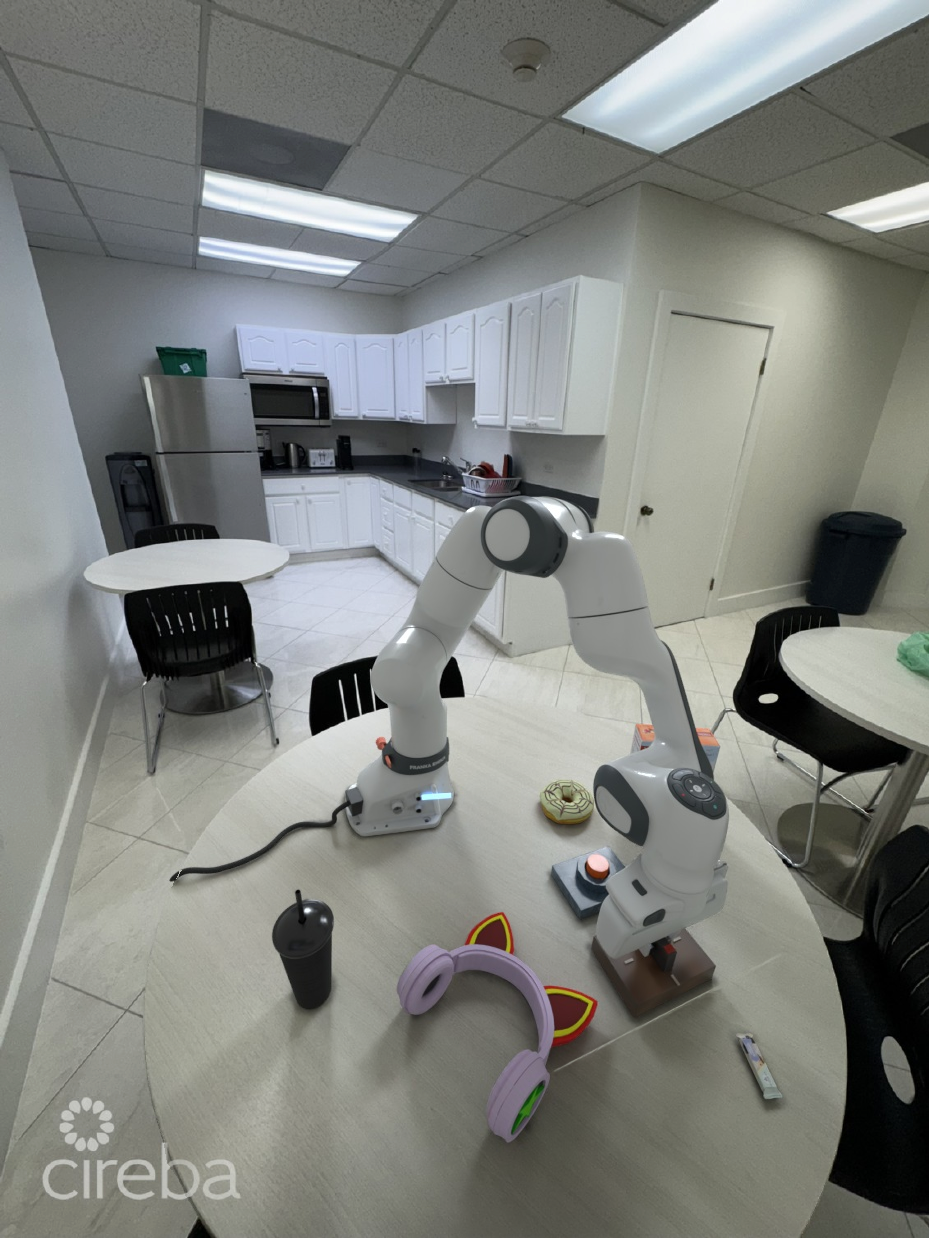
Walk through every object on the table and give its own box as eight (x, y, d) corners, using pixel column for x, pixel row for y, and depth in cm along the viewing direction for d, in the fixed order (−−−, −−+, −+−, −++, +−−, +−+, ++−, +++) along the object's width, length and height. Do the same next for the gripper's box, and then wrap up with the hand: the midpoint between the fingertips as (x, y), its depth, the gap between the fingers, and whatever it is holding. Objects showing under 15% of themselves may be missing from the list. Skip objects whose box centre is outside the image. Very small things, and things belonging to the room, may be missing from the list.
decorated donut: (530, 798, 104) (531, 784, 102) (572, 784, 108) (574, 771, 106) (557, 834, 95) (559, 820, 94) (602, 818, 99) (605, 804, 98)
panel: (634, 1019, 67) (638, 1005, 65) (590, 947, 75) (593, 934, 74) (712, 979, 71) (717, 965, 70) (662, 917, 80) (666, 903, 79)
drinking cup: (311, 1034, 64) (294, 933, 56) (273, 999, 68) (251, 900, 60) (353, 981, 70) (342, 883, 62) (315, 952, 74) (300, 855, 66)
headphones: (389, 977, 63) (495, 873, 75) (399, 1015, 68) (498, 912, 80) (501, 1129, 50) (609, 974, 62) (504, 1163, 55) (604, 1013, 66)
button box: (579, 919, 79) (582, 902, 78) (550, 874, 87) (552, 857, 85) (639, 895, 83) (643, 879, 82) (606, 854, 91) (609, 838, 90)
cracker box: (688, 810, 101) (710, 727, 93) (698, 834, 96) (723, 747, 88) (619, 804, 103) (635, 721, 94) (625, 827, 97) (642, 740, 89)
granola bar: (782, 1100, 59) (784, 1096, 58) (763, 1101, 59) (765, 1096, 58) (750, 1035, 65) (752, 1030, 65) (733, 1035, 65) (735, 1030, 65)
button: (594, 881, 82) (595, 874, 81) (581, 864, 85) (583, 857, 84) (612, 875, 83) (613, 867, 82) (599, 858, 86) (600, 851, 85)
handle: (635, 933, 74) (639, 916, 73) (643, 929, 75) (648, 912, 73) (663, 972, 69) (668, 955, 68) (672, 968, 70) (677, 951, 68)
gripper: (712, 839, 72) (692, 903, 78) (596, 883, 65) (584, 950, 71) (748, 874, 67) (725, 941, 73) (627, 926, 60) (611, 995, 66)
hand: (654, 946), depth 72 cm, fingers closed
